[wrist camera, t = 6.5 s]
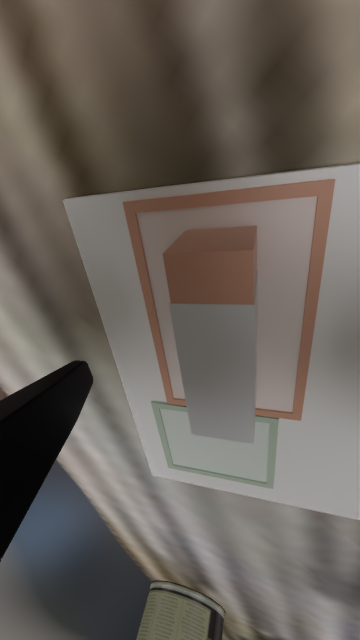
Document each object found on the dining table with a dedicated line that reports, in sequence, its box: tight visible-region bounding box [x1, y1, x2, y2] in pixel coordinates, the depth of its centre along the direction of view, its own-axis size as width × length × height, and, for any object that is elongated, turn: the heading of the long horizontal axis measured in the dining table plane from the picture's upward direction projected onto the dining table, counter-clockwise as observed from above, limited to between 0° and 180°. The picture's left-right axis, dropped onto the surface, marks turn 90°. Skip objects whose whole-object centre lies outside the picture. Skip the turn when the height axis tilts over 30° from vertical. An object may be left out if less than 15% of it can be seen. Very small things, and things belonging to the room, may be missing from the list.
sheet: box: [63, 163, 360, 520], centre depth 13 cm, size 19×16×1 cm
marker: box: [163, 226, 258, 444], centre depth 10 cm, size 8×3×3 cm, turn 8°
